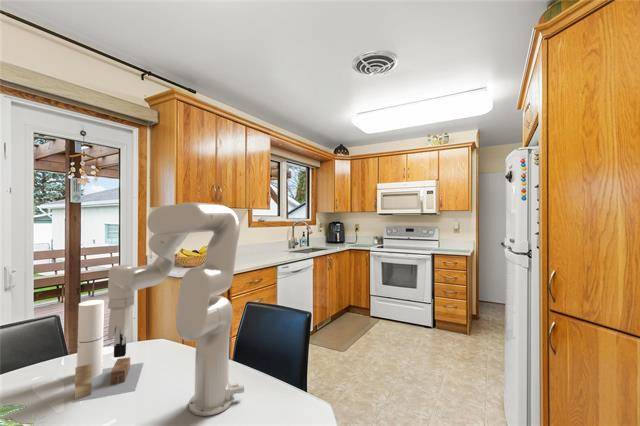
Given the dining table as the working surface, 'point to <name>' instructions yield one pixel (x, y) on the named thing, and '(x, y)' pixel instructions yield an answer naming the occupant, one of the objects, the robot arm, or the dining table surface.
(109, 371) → the mat
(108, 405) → the dining table surface
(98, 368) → the cylindrical container
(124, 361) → the walnut block
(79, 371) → the oak block
